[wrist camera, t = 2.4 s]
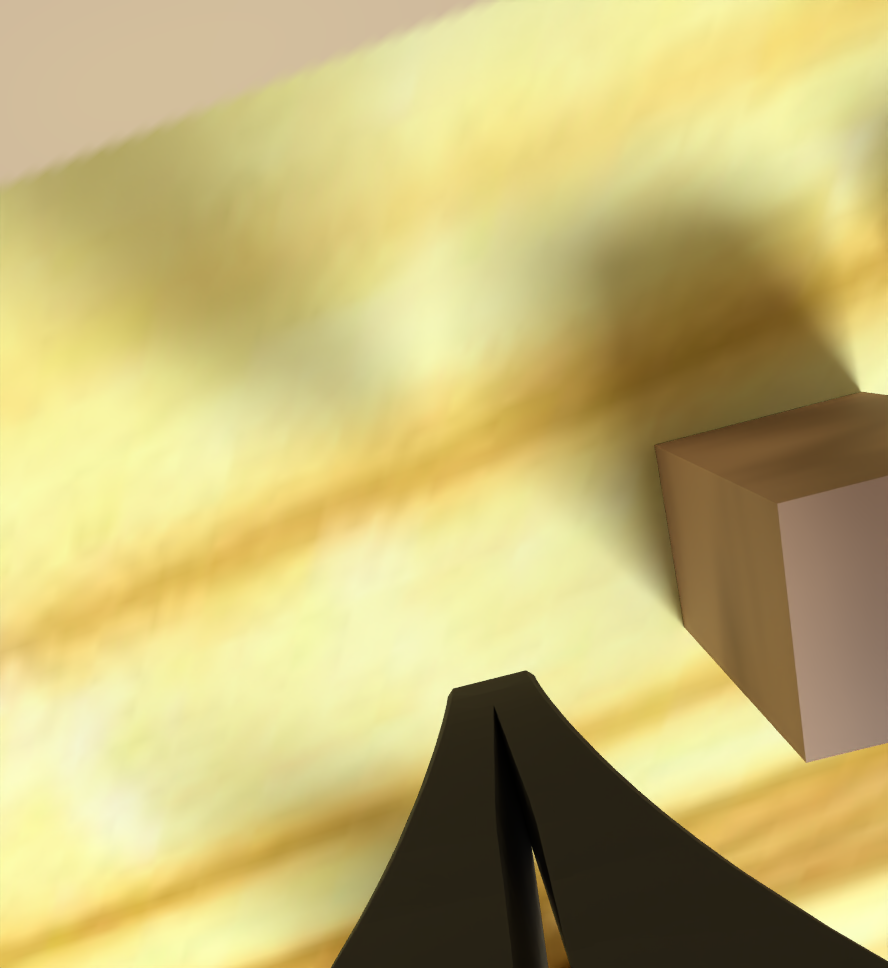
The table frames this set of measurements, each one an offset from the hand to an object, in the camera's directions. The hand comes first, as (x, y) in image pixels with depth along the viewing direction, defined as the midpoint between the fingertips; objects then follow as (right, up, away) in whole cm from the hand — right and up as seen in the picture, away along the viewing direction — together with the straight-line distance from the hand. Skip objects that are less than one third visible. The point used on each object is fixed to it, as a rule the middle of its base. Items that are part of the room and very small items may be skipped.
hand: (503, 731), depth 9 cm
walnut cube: (+7, +3, +5) cm, 9 cm away
